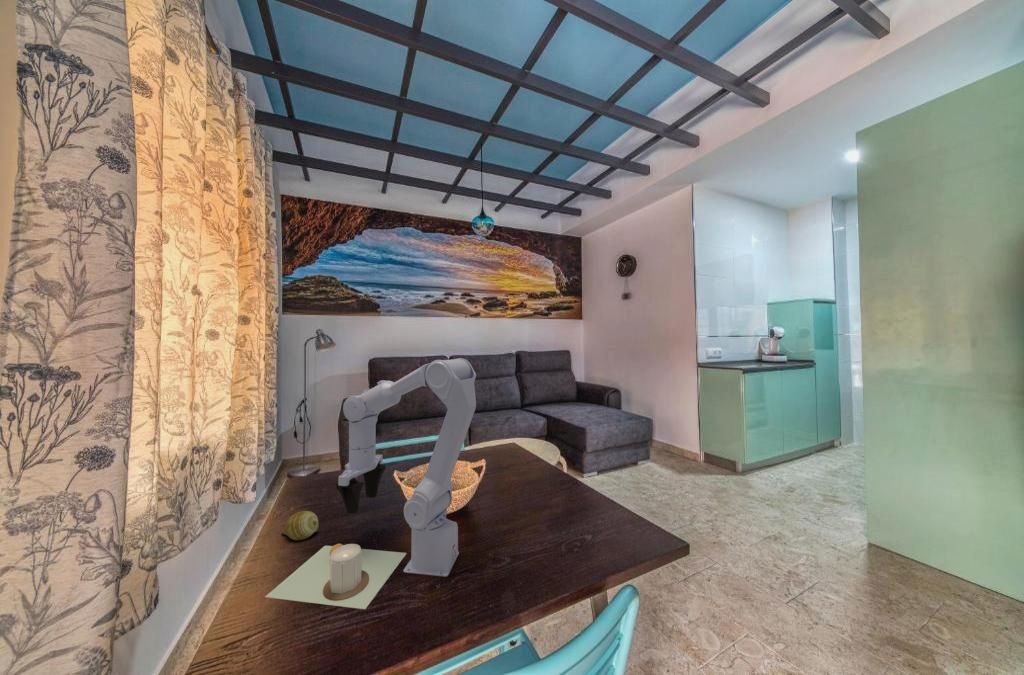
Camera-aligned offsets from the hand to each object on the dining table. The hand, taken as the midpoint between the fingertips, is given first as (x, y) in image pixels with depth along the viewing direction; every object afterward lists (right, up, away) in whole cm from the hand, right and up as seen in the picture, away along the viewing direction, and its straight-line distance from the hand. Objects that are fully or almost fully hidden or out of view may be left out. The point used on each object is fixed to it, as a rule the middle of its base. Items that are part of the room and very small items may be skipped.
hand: (362, 504), depth 79 cm
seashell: (-17, -10, +4) cm, 20 cm away
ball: (-3, -7, -6) cm, 10 cm away
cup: (+3, -8, -14) cm, 16 cm away
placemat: (0, -9, -10) cm, 14 cm away
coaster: (+3, -9, -14) cm, 17 cm away
